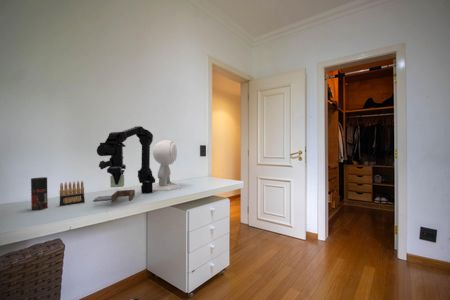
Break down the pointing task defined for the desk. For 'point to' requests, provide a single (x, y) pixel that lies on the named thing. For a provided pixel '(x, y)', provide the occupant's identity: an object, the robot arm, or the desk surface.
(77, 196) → the ammunition clip
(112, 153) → the robot arm
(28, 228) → the desk surface
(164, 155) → the big headed doll
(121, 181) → the block
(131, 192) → the frame
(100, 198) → the mat
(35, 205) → the black red box
